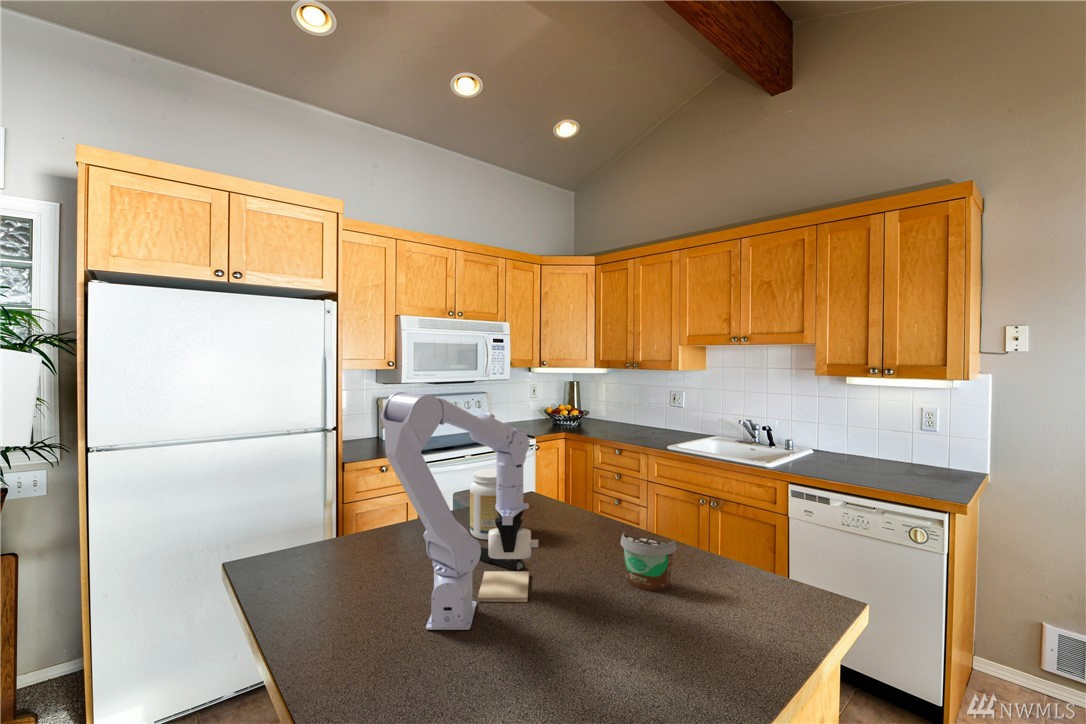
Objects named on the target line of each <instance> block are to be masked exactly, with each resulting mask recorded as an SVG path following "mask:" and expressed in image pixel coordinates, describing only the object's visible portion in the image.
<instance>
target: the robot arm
mask: <svg viewBox="0 0 1086 724" xmlns="http://www.w3.org/2000/svg"><path fill="white" fill-rule="evenodd" d="M380 420H381V421H382V423H383V425H384V444H385V445H384V446H385V447H384V451H385V456H386V458H387V461H388V463H389V465H390V466H391V468H392V470H393V472H394V473H395V475H396V477H397V479H398V481H399V483H400V484H401V486H402V488H403V490H404V492H405V493H406V495H407V497H408V499H409V501H410V503H411V504H412V506H413V508H414V510H415V512H416V513H417V515H418V517H419V519H420V521H421V522H422V524H423V526H424V528H425V531H424V533H423V535H422V537H423V539H424V540H425V546H426V547H425V548H426V549H425V550H426V554H427V556H428V558H429V559H431V560H432V567H433V590H432V593H431V611H430V613H431V614H430V615H429V618H428V621H427V623H426V626H425V629H426V630H432V631H433V630H436V631H437V630H440V631H444V630H445V631H449V630H450V631H454V630H455V631H456V630H457V631H458V630H459V631H460V630H461V631H468V630H470V629H471V627H472V623H473V618H474V616H475V611H476V607H477V603H478V601H475V600H473V571H475V568H476V566H477V565H478V563H479V562H480V560H481V559H480V555H481V547H482V546H481V544H480V541H478V540H477V539H476V538H474V537H472V536H471V535H470V532H469V531H468V530H467V529H466V528H465V526H463V525H462V524H461V523H459V522H458V521H457V520H456V518H455V517H454V514H453V513H452V511H451V509H450V507H449V505H448V503H447V500H446V498H445V497H444V495H443V492H442V491H441V489H440V487H439V485H438V483H437V481H436V479H435V477H434V475H433V474H432V472H431V470H430V467H429V466H428V463H427V462H426V460H425V458H424V457H423V455H422V450H423V449H424V448H425V446H426V445H427V443H428V442H429V440H430V439H431V438H432V436H433V435H434V433H435V431H436V430H437V428H438V427H439V425H442V426H443V425H445V424H448V425H450V426H453V427H454V428H455V427H456V428H458V429H461V430H464V431H466V432H468V433H469V437H470V440H472V441H474V442H475V443H478V444H481V445H483V446H485V447H487V448H490V449H491V450H492V452H494V453H496V469H497V484H496V505H495V508H496V510H497V511H498V515H499V517H500V518H495V524H496V526H497V528H498V530H499V533H500V536H501V541H502V547H503V551H504V552H514V549H515V545H516V538H517V533H518V530H519V528H521V526H522V524H523V518H522V516H523V515H524V510H528V509H530V508H529V507H530V506H529V503H527V502H524V464H525V462H526V460H527V458H526V457H527V453H528V450H529V447H530V444H531V441H530V440H529V438H528V434H526V432H525V430H523V429H522V428H515V427H511V423H509V422H507V421H500V420H498V419H497V418H496V415H495V414H494V413H488V412H486V413H482V414H478V415H477V416H476V415H474V414H472V413H470V412H468V411H466V410H464V409H462V408H461V407H459V406H458V405H455V404H454V403H452V402H449V401H448V400H446V399H444V398H439V397H436V396H434V395H431V394H417V393H416V394H415V393H408V392H403V391H399V392H395V393H393V394H392V395H390V396H389V397H388V398H387V400H386V401H385V404H384V406H383V409H382V412H381V414H380Z"/></svg>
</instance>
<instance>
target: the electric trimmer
mask: <svg viewBox="0 0 1086 724" xmlns="http://www.w3.org/2000/svg"><path fill="white" fill-rule="evenodd" d="M480 547H481V555H480V559H479V560H481V561H483V562H484V563H487V564H495V565H497V566H500V567H504V568H506V569H509V570H511V571H523V570H524V571H525V570H526V566H525V562H524V561H523V559H493V558H490V557H489V556H488V548H486V547H483V546H480Z"/></svg>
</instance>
